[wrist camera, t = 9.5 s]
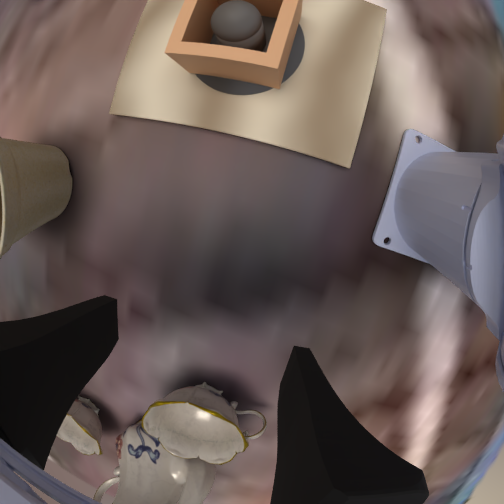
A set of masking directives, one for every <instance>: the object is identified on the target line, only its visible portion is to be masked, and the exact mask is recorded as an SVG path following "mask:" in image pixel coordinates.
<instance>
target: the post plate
mask: <svg viewBox="0 0 504 504" xmlns="http://www.w3.org/2000/svg"><path fill="white" fill-rule="evenodd" d="M184 1H185V0H148V2H147V4H146V7H145V9H144V11H143V13H142V16H141V18H140V20H139V23H138V25H137V28H136V30H135V33H134V35H133V38H132V41H131V43H130V46H129V49H128V52H127V55H126V58H125V61H124V64H123V67H122V70H121V73H120V76H119V79H118V83H117V86H116V90H115V93H114V97H113V101H112V104H111V108H110V112H109V114H113V115H120V116H128V117H136V118H143V119H150V120H157V121H163V122H170V123H175V124H181V125H187V126H192V127H197V128H202V129H207V130H212V131H217V132H221V133H226V134H230V135H235V136H239V137H243V138H247V139H251V140H255V141H259V142H263V143H267V144H270V145H274V146H278V147H281V148H285V149H288V150H292V151H295V152H299V153H302V154H305V155H308V156H312V157H315V158H318V159H321V160H324V161H327V162H330V163H333V164H336V165H339V166H342V167H345V168H350V166H351V162H352V159H353V155H354V152H355V148H356V145H357V141H358V137H359V134H360V130H361V126H362V122H363V118H364V115H365V111H366V107H367V103H368V99H369V94H370V90H371V86H372V82H373V77H374V73H375V68H376V64H377V59H378V54H379V49H380V44H381V39H382V34H383V28H384V23H385V17H386V11H387V9H385V8H382V7H380V6H377V5H374V4H372V3H369V2H366V1H364V0H303V2H302V13H301V18H300V21H299V24H298V28H297V31H296V34H295V38H294V41H293V45H292V48H291V51H290V55H289V58H288V62H287V65H286V69H285V72H284V76H283V79H282V83H281V86H280V89H276V88H272V87H268V86H263V85H259V84H254V83H249V82H244V81H239V80H234V79H228V78H222V77H216V76H209V75H202V74H194V73H189V72H188V71H186V70H185V69H184V68H183V67H182V66H180V65H179V64H178V63H177V62H175V61H174V60H173V59H172V58H170V57H169V56H168V55H167V54H165V53H164V52H165V49H166V47H167V44H168V41H169V38H170V36H171V33H172V30H173V28H174V25H175V23H176V20H177V17H178V15H179V13H180V10H181V8H182V5H183V3H184ZM276 21H277V18H272V17H267V16H261V14H260V12H259V10H258V9H257V8H256V7H255V6H254V5H252V4H251V3H249V2H246V1H242V0H232V1H228V2H225V3H223V4H221V5H220V6H219V7H217V8H216V10H215V11H214V12H213V14H212V17H211V28H212V30H213V32H214V33H213V36H212V39H211V42H210V44H215V45H223V46H230V47H237V48H243V49H249V50H255V51H260V52H265V53H266V52H267V49H268V46H269V42H270V39H271V36H272V33H273V30H274V27H275V24H276Z"/></svg>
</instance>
